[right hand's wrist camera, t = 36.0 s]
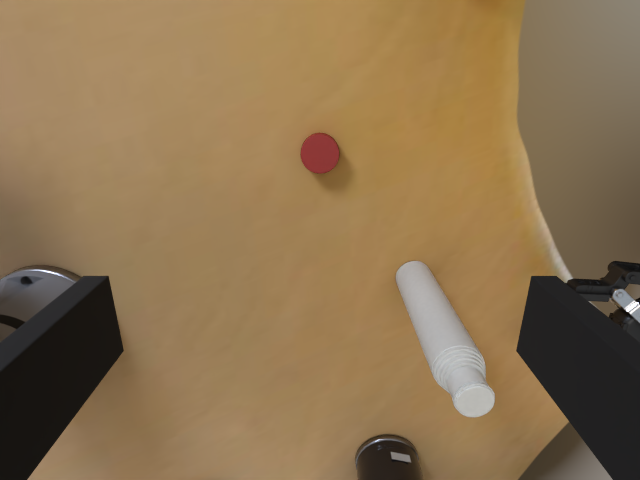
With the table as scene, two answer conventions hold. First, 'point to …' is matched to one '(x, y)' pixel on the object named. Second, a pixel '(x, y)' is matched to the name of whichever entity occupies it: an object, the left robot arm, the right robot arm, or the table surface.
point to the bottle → (445, 341)
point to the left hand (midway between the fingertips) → (552, 329)
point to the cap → (319, 153)
